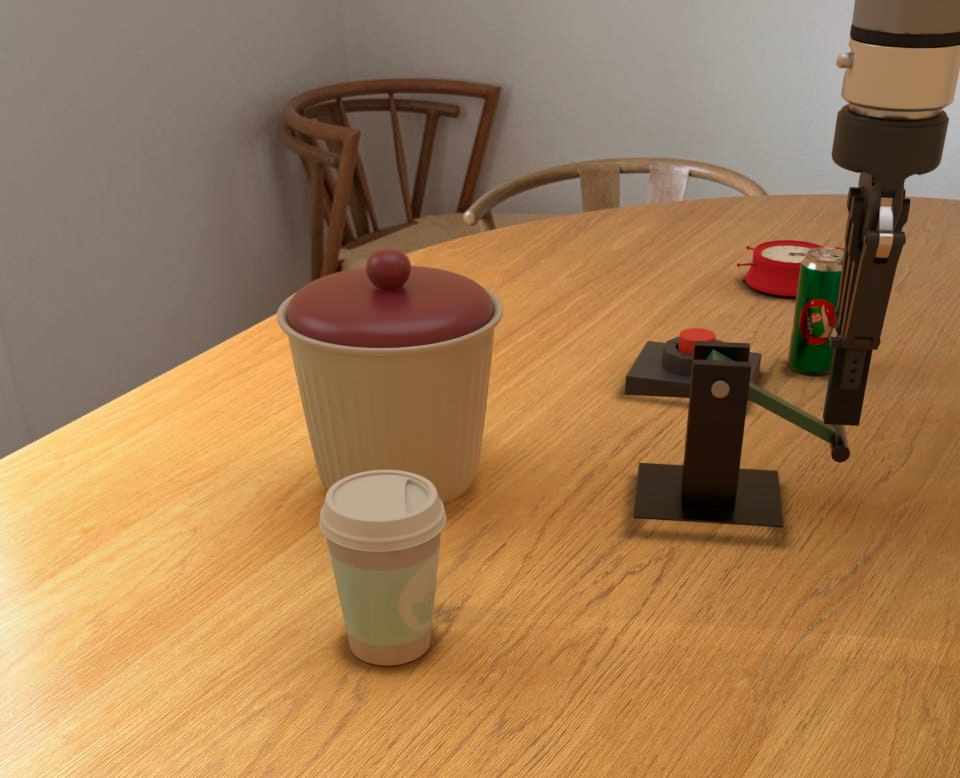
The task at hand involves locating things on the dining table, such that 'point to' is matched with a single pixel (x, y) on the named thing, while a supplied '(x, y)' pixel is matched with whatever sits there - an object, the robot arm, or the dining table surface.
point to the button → (694, 339)
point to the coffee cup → (385, 561)
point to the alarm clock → (777, 266)
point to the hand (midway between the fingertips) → (840, 420)
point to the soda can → (815, 311)
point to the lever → (798, 417)
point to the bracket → (712, 453)
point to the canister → (394, 369)
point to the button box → (668, 370)
